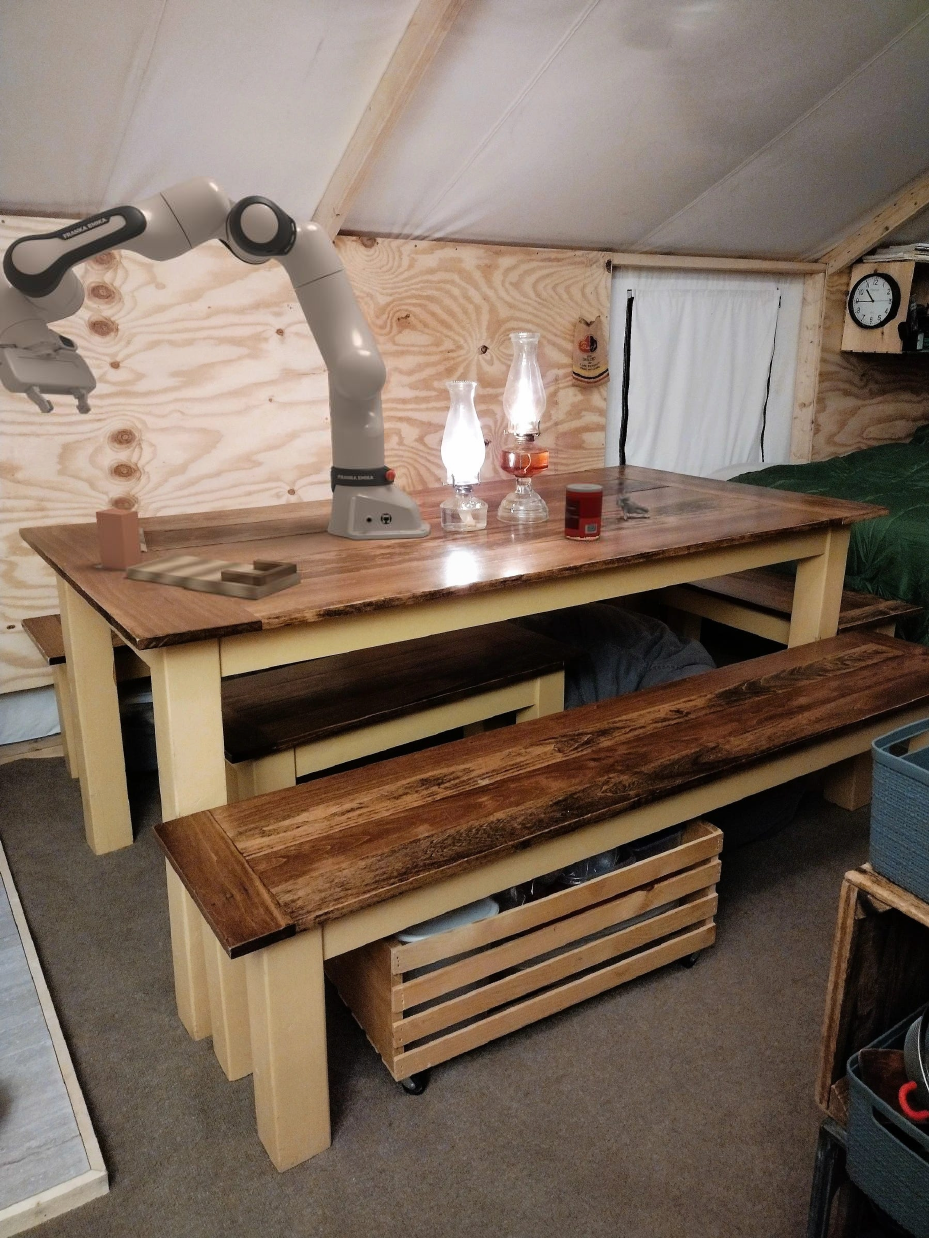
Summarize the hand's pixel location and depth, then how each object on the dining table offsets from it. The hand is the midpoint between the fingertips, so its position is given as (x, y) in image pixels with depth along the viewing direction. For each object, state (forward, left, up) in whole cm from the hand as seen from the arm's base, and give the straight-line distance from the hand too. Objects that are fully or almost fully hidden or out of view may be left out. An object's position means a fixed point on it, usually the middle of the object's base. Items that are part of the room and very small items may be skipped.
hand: (67, 411), depth 171 cm
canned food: (-100, -17, -27) cm, 105 cm away
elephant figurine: (-115, -40, -27) cm, 124 cm away
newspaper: (-6, -10, -28) cm, 30 cm away
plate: (-11, +11, -27) cm, 31 cm away
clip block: (-11, +11, -27) cm, 31 cm away
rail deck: (-30, +21, -27) cm, 45 cm away
